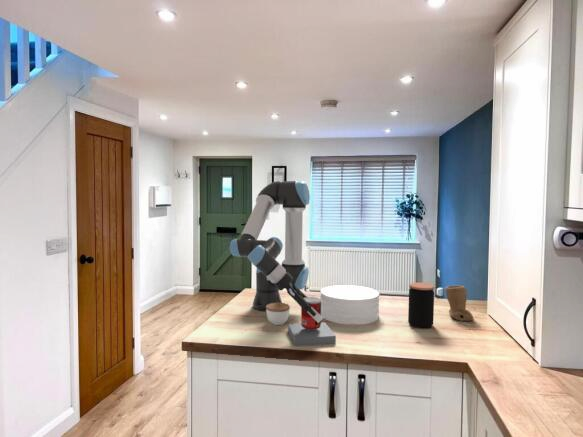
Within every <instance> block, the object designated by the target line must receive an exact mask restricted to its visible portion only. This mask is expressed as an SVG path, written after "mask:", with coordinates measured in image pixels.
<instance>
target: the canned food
mask: <svg viewBox="0 0 583 437" xmlns="http://www.w3.org/2000/svg"><path fill="white" fill-rule="evenodd" d="M304 299H305V301H306V302H307V303H308V304H309V305H310V306H312V307H313V308H314V309H315V310H316V311H317V312H318V313H319V314H320V315H321V298H319V297H313V296H311V297H310V296H307V297H306V298H304ZM300 308H301V309H300V310H301V312H300V314H301V316H300V317H301V318H300V319H301V320H300V321H301V322H300V324H301V325H302V327H303V328H306V329H318V328H320V325H321V322H322V320H321V321H320V322H319V323H318V322H317V321H316V320H315V319H314V318H313V317H312V316H311V315H310V314H309V313H308V312H306V313H305V310H304V309H303V308H302V307H301V306H300Z"/></svg>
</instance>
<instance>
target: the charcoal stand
mask: <svg viewBox="0 0 583 437" xmlns="http://www.w3.org/2000/svg"><path fill="white" fill-rule="evenodd" d="M287 328H288V330H287V331H288V334H289V336H290V338H291V339H292V342H293V344H294V347H298V346H299V347H300V346H303V347H304V346H317V345H319V346H320V345H333V344H334V345H335V344H336V342H337V340H336V339H337V337H336V336H337V335H336V334H335V333H334V332H333V330H332V329H331V328H330V327H329V325H327V323H326V321H324V322H322V321H321V325H320V328H318V329H306V328H303V327H302V325H301V323H289V324H288V327H287Z"/></svg>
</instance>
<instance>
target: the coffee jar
mask: <svg viewBox="0 0 583 437" xmlns="http://www.w3.org/2000/svg"><path fill="white" fill-rule="evenodd" d="M408 286H409V289H408V310H407V311H408V313H407V314H408V316H407V318H408V320H407V322H408V324H409V325H410V326H411V327H413V328H417V329H431V328H432V327H433V325H434V315H435V314H434V313H435V312H434V311H435V310H434V309H435V291H434V290H435V285H433V284H430V283H426V282H410V283H409V285H408Z"/></svg>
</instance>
